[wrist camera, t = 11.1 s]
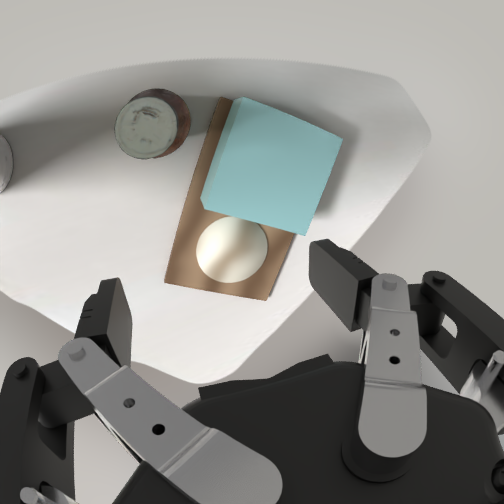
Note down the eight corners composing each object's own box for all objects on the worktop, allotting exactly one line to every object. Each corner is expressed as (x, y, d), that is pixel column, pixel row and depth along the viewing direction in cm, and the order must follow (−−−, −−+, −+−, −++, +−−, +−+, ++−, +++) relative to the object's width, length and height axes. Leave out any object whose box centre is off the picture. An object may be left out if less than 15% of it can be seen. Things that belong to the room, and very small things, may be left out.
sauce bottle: (165, 86, 32) (159, 50, 14) (197, 121, 35) (224, 122, 17) (125, 122, 32) (80, 125, 15) (158, 156, 35) (146, 193, 18)
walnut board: (164, 279, 42) (164, 283, 41) (219, 97, 34) (221, 96, 33) (264, 297, 48) (266, 301, 47) (327, 139, 40) (331, 140, 39)
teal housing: (200, 197, 37) (204, 209, 33) (233, 99, 33) (243, 96, 29) (290, 222, 42) (305, 235, 38) (324, 135, 38) (343, 139, 34)
